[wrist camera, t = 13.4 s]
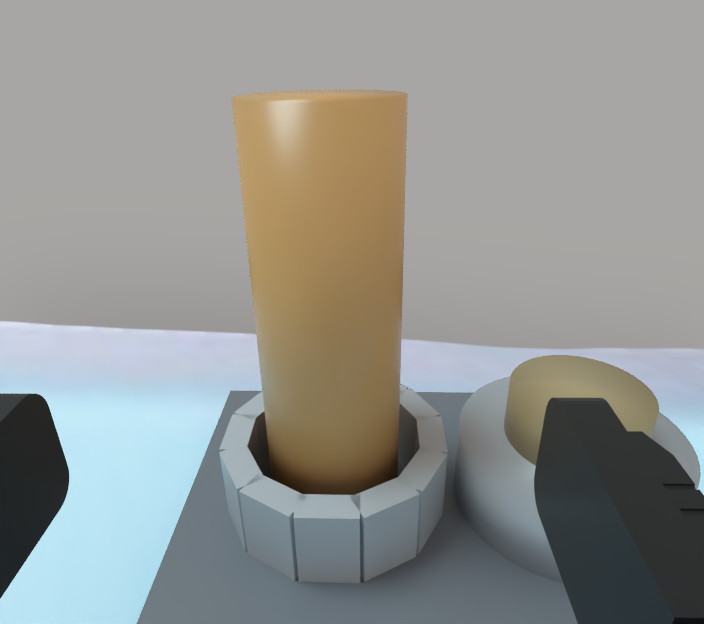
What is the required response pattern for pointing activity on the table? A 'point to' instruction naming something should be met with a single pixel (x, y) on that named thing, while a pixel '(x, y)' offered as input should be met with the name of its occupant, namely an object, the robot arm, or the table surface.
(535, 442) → the housing
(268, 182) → the cylinder
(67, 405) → the table surface
